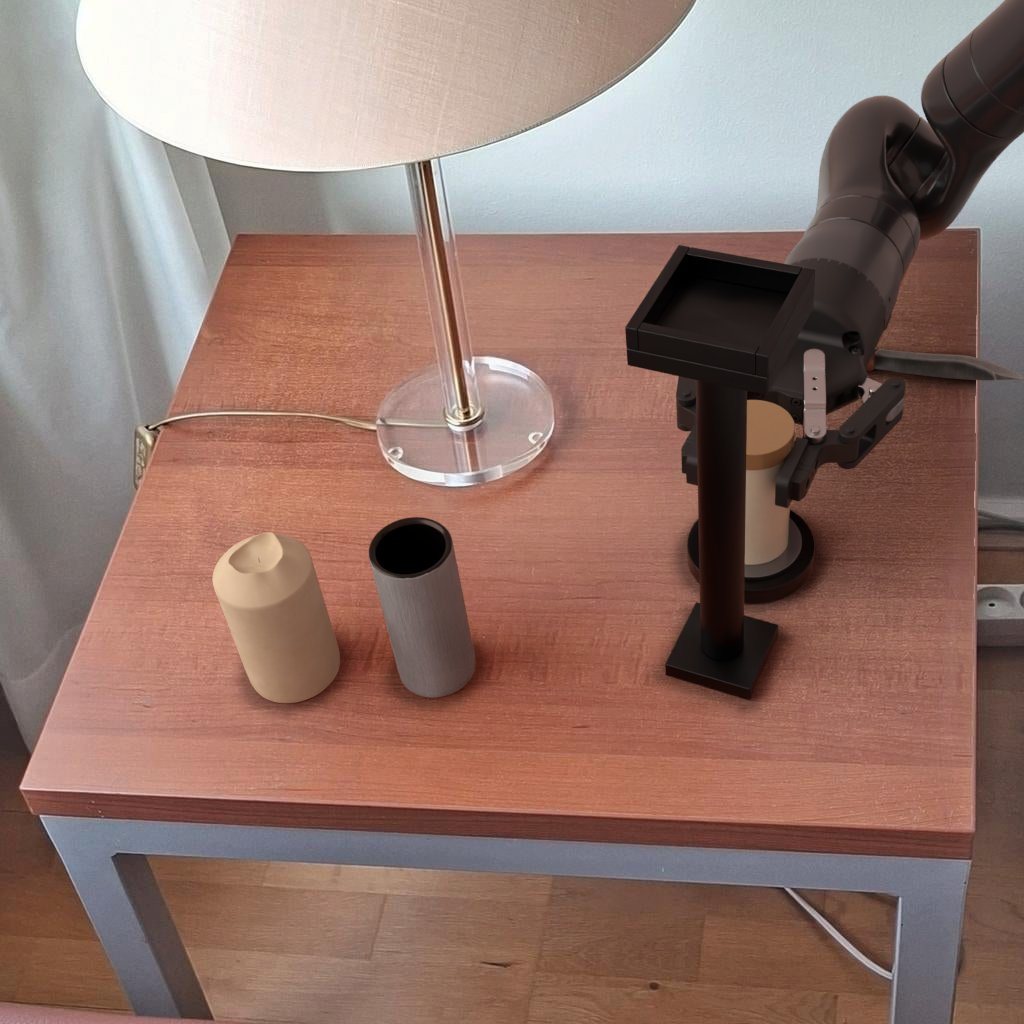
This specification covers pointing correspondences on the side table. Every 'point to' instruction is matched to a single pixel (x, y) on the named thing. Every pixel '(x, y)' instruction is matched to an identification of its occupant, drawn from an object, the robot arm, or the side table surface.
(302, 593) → the candle
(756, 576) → the plate
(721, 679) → the stand
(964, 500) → the side table surface
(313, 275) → the side table surface
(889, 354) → the knife
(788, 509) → the spice jar
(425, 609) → the planter
